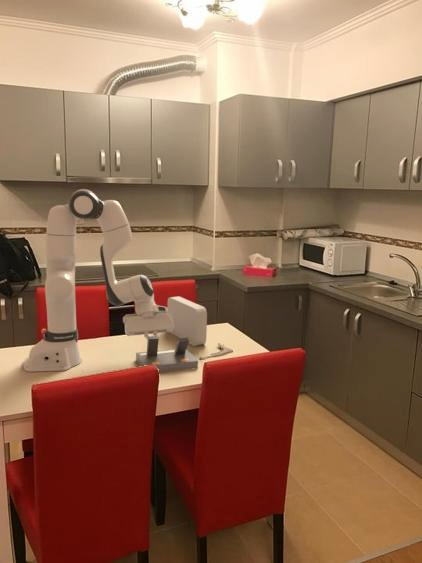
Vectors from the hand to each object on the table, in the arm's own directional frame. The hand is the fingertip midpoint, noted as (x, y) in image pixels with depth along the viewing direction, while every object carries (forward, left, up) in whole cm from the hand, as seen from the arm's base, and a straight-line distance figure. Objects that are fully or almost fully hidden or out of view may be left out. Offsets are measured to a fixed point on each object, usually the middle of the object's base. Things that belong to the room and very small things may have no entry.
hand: (152, 342), depth 188 cm
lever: (+12, +1, -6) cm, 13 cm away
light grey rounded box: (+24, +29, -10) cm, 39 cm away
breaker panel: (+6, -1, -10) cm, 11 cm away
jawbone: (+29, +7, -11) cm, 31 cm away
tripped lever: (0, +1, -6) cm, 6 cm away
